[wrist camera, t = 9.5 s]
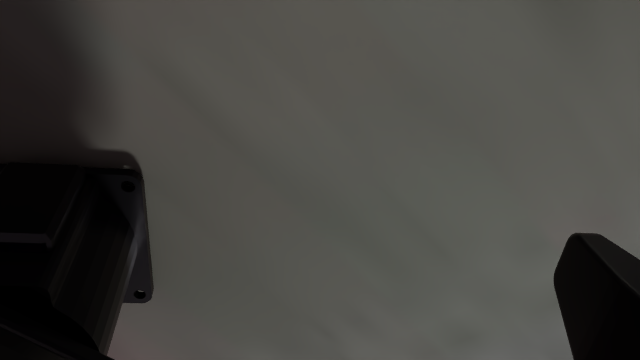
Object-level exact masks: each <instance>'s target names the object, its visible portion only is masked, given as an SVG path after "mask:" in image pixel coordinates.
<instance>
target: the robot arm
mask: <svg viewBox="0 0 640 360" xmlns="http://www.w3.org/2000/svg"><path fill="white" fill-rule="evenodd" d="M124 181H130V182H132V183H133V184H134V186H128V185H126V184H125V183H124ZM554 288H555V292H556V295H557V299H558V303H559V307H560V310H561V314H562V318H563V321H564V325H565V329H566V333H567V336H568V340H569V344H570V348H571V351H572V355H573V359H574V360H640V260H639V259H638V258H636V257H634V256H633V255H631V254H630V253H628V252H627V251H625V250H624V249H622V248H621V247H619V246H617V245H616V244H614V243H613V242H611V241H610V240H608V239H607V238H605V237H604V236H602V235H600V234H595V233H575V234H572V235H571V236H570V237H569V238H568V240H567V242H566V245H565V247H564V250H563V252H562V255H561V257H560V260H559V262H558V264H557V267H556V269H555V273H554ZM153 289H154V287H153V276H152V265H151V254H150V243H149V232H148V220H147V209H146V198H145V187H144V180H143V177H142V176H141V175H140V173H138V172H136V171H135V170H130V169H110V168H87V167H80V166H77V165H56V164H33V163H8V164H0V360H114V359H112V358H110V357H108V356H107V353H108V350H109V347H110V343H111V340H112V337H113V333H114V330H115V326H116V323H117V320H118V316H119V313H120V310H121V306H122V303H146V302H148V301H149V300H150V299H151V298H152V294H153ZM137 290H141V291H144V292H139V291H137Z"/></svg>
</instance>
